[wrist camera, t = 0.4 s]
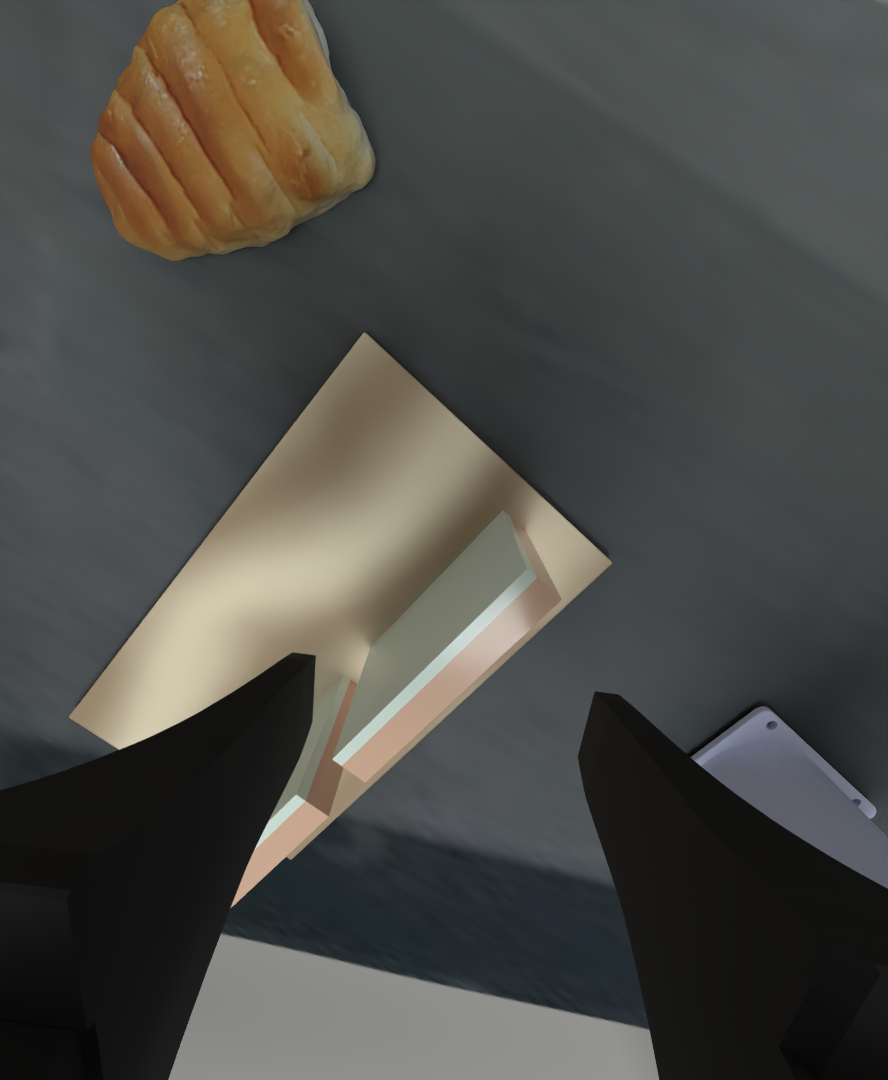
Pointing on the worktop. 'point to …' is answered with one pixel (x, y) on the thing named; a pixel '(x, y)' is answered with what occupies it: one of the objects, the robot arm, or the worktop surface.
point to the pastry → (227, 130)
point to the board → (329, 557)
